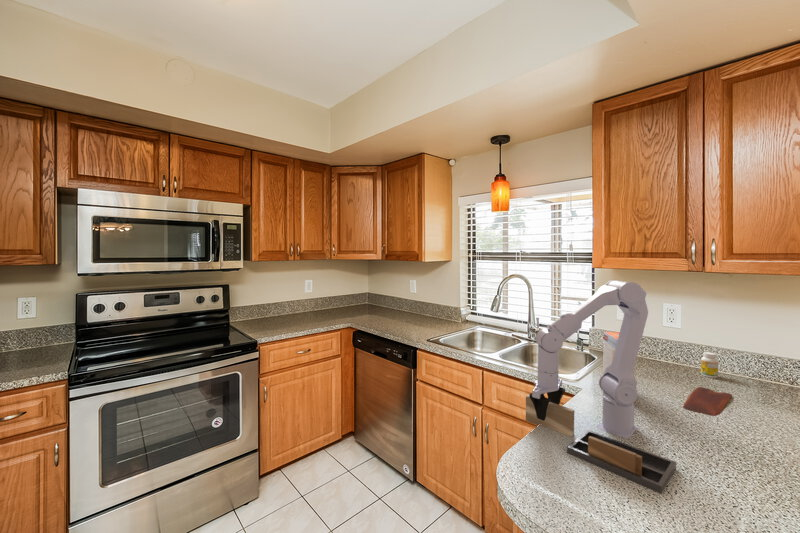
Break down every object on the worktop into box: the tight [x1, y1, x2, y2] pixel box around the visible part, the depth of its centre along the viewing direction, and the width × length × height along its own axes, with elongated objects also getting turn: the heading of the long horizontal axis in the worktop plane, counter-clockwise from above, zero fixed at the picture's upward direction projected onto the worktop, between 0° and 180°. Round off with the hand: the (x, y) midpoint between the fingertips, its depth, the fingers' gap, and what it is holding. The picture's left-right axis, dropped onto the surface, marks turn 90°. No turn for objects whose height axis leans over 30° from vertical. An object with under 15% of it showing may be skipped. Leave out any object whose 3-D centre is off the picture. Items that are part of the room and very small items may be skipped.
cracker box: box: [602, 331, 636, 375], centre depth 130 cm, size 14×6×21 cm, turn 168°
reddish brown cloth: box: [682, 386, 733, 417], centre depth 121 cm, size 27×10×2 cm, turn 128°
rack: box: [566, 429, 677, 494], centre depth 86 cm, size 13×20×2 cm, turn 40°
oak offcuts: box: [588, 436, 642, 476], centre depth 84 cm, size 3×11×6 cm, turn 40°
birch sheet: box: [525, 394, 575, 438], centre depth 103 cm, size 2×14×8 cm, turn 41°
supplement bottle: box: [700, 351, 719, 379], centre depth 144 cm, size 5×5×10 cm
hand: (547, 415), depth 103 cm, fingers open, 7 cm apart
